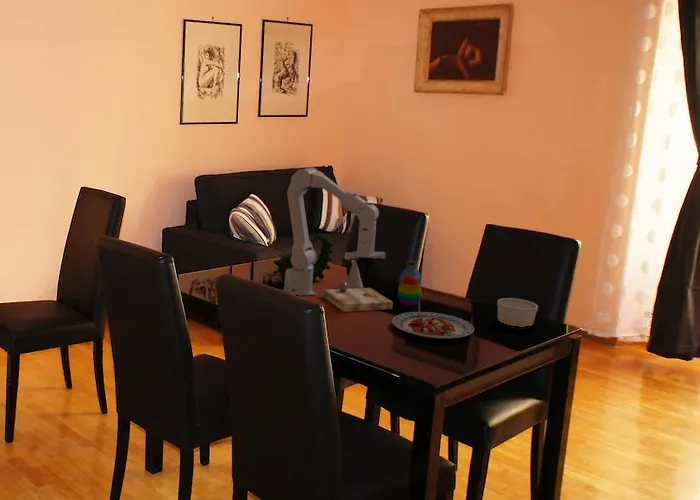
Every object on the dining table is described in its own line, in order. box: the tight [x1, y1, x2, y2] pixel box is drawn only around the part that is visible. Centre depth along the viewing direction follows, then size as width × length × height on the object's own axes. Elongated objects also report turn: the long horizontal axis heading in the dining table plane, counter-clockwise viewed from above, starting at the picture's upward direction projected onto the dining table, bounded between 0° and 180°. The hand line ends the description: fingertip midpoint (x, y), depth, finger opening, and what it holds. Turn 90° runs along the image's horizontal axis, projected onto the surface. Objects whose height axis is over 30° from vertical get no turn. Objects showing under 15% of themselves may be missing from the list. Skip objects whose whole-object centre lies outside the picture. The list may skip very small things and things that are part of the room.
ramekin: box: [496, 297, 539, 327], centre depth 268 cm, size 13×13×7 cm
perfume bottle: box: [397, 259, 422, 290], centre depth 295 cm, size 6×6×12 cm
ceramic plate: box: [391, 311, 475, 340], centre depth 254 cm, size 26×26×3 cm
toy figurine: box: [272, 233, 334, 284], centre depth 298 cm, size 9×19×25 cm
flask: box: [344, 259, 364, 289], centre depth 297 cm, size 7×7×10 cm
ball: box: [338, 281, 348, 292], centre depth 281 cm, size 3×3×3 cm
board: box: [322, 287, 394, 313], centre depth 278 cm, size 18×18×2 cm
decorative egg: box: [397, 276, 422, 307], centre depth 281 cm, size 8×8×10 cm
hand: (363, 279), depth 277 cm, fingers closed
